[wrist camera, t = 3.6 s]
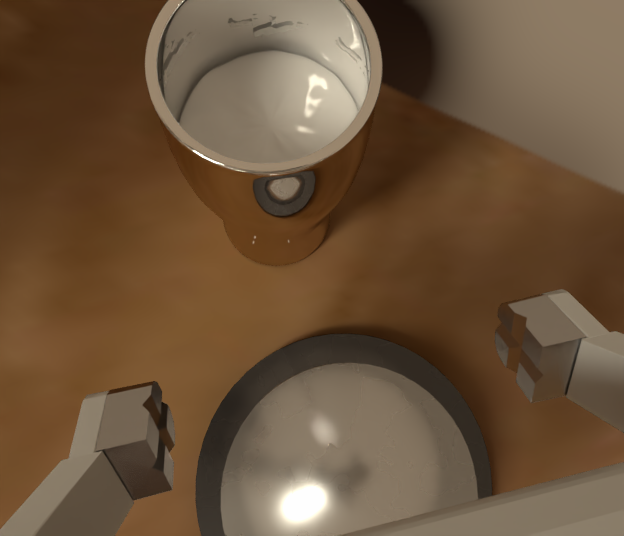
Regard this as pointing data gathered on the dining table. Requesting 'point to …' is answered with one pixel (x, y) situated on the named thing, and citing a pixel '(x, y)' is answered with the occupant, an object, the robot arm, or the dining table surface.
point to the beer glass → (266, 112)
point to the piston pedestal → (337, 443)
